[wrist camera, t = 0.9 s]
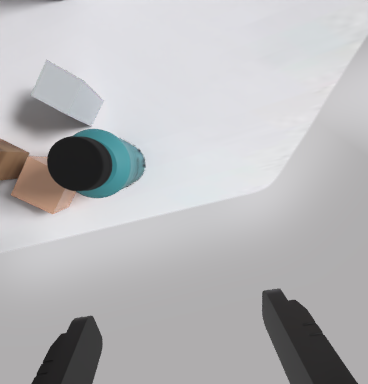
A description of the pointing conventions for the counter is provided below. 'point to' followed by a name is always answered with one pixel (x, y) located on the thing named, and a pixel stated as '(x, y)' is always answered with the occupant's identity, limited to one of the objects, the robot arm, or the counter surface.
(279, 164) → the counter surface
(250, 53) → the counter surface
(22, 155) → the tan rectangular block
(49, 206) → the terracotta block
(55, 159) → the beverage bottle
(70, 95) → the grey post
